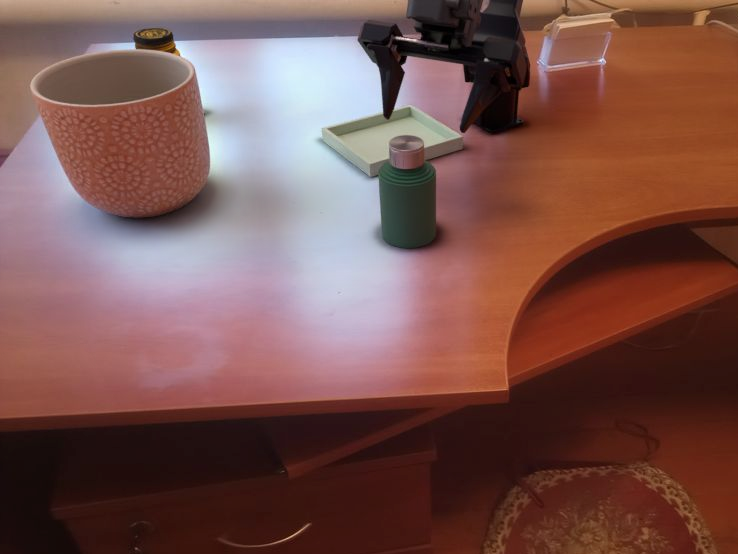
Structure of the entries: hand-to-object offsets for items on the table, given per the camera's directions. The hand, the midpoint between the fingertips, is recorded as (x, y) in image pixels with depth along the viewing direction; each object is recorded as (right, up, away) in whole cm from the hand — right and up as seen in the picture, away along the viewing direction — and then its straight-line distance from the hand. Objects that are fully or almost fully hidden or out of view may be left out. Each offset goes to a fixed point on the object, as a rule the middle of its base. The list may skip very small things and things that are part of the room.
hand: (423, 124), depth 82 cm
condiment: (-40, +9, +26) cm, 48 cm away
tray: (-6, +4, +21) cm, 23 cm away
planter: (-34, -7, +9) cm, 36 cm away
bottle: (-2, -12, +4) cm, 12 cm away
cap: (-2, -3, -3) cm, 5 cm away
